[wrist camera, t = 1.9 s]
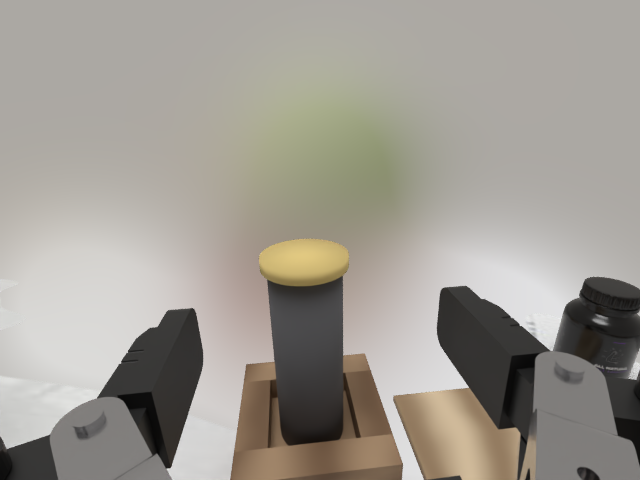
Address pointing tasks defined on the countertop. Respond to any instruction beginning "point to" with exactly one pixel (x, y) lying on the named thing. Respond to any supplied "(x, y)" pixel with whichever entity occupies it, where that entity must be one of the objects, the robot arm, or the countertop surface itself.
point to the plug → (307, 336)
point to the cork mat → (457, 436)
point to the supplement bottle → (603, 326)
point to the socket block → (323, 457)
